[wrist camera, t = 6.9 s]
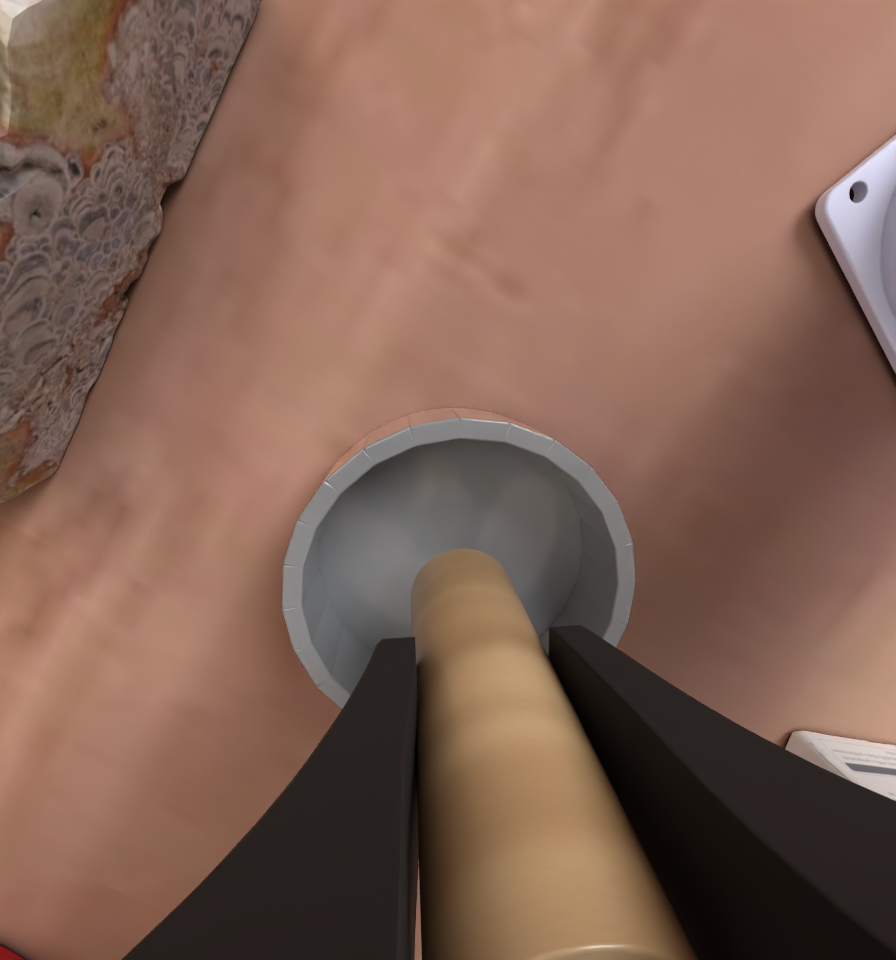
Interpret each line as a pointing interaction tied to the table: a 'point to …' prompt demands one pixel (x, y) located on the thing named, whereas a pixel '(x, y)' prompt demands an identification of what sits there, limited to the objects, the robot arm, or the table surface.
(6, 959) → the canned food
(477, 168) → the table surface
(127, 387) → the table surface
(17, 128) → the geological specimen
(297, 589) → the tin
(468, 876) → the stick
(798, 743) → the cosmetics box
